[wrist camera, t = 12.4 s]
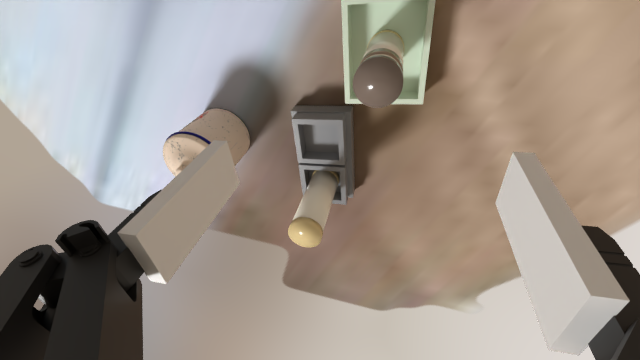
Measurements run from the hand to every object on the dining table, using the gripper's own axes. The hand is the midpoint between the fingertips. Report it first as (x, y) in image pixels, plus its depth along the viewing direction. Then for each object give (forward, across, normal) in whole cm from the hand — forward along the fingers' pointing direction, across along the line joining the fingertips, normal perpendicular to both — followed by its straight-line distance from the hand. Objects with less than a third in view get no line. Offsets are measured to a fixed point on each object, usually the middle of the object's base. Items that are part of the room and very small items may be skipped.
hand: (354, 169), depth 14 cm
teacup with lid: (+26, -25, -13) cm, 38 cm away
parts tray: (+25, 0, 0) cm, 25 cm away
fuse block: (+25, -8, -14) cm, 30 cm away
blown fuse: (+25, 0, 0) cm, 25 cm away
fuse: (+23, -8, -18) cm, 30 cm away
